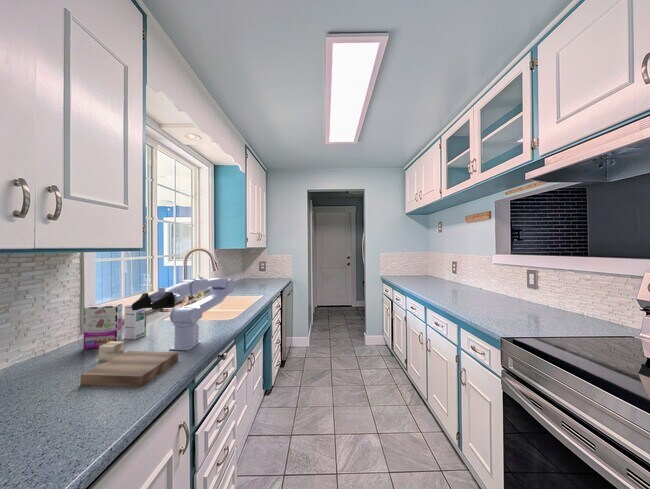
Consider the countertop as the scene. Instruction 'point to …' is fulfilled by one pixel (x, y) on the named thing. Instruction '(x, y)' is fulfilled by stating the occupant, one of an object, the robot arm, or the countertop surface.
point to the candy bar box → (102, 325)
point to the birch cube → (111, 350)
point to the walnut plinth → (130, 369)
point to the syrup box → (134, 322)
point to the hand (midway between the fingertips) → (142, 307)
